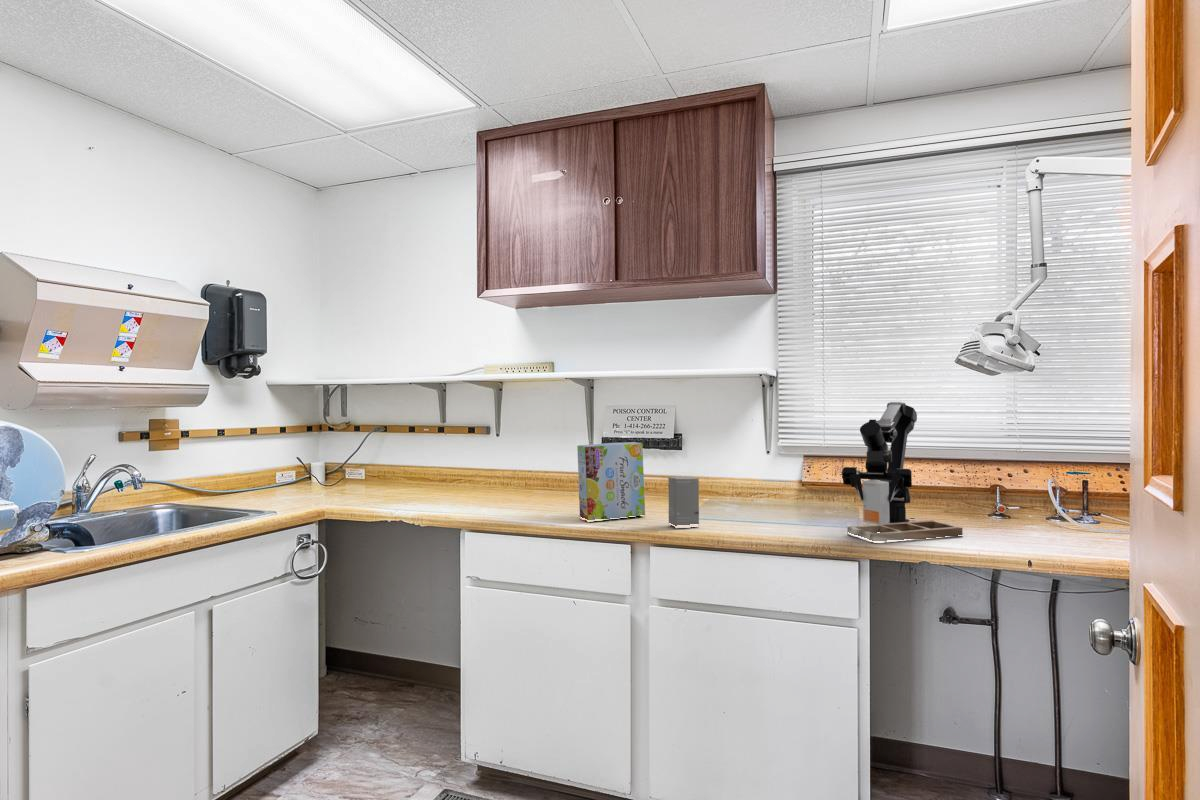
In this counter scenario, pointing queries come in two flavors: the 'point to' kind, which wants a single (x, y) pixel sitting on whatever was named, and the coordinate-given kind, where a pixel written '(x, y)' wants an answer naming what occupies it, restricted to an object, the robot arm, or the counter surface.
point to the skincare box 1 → (683, 500)
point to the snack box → (611, 480)
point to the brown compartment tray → (905, 530)
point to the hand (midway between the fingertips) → (875, 500)
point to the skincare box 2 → (876, 502)
